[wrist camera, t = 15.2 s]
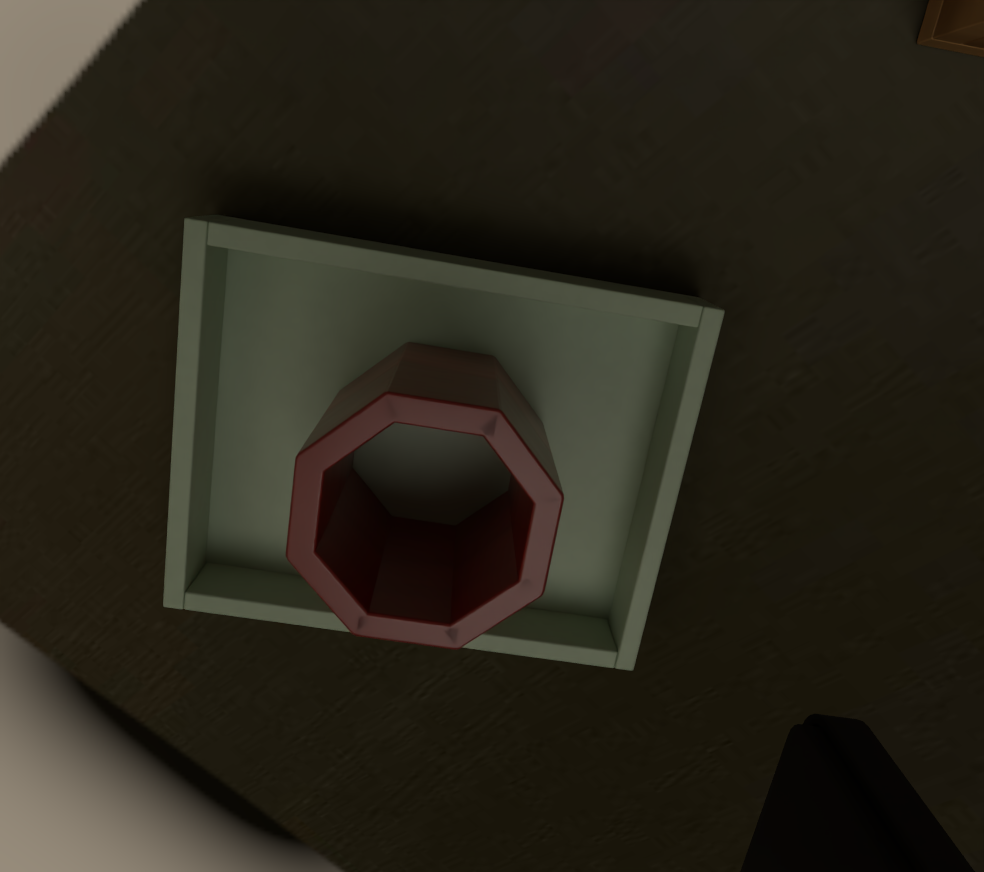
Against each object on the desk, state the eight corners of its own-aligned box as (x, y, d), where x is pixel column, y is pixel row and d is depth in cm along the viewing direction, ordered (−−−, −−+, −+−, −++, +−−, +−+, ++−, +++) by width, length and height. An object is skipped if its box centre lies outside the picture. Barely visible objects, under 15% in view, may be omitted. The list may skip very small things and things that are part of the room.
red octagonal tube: (322, 525, 25) (277, 626, 19) (345, 330, 23) (302, 378, 17) (517, 554, 25) (530, 661, 20) (555, 365, 24) (581, 422, 18)
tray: (191, 568, 26) (162, 607, 23) (214, 214, 23) (183, 217, 20) (619, 628, 27) (633, 671, 24) (700, 297, 24) (726, 309, 21)
